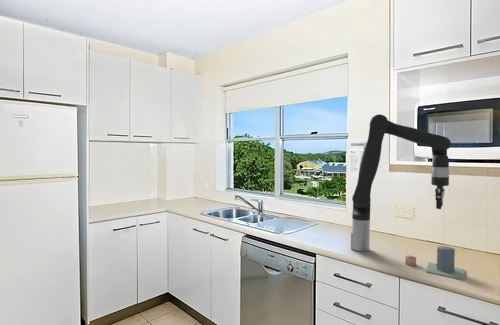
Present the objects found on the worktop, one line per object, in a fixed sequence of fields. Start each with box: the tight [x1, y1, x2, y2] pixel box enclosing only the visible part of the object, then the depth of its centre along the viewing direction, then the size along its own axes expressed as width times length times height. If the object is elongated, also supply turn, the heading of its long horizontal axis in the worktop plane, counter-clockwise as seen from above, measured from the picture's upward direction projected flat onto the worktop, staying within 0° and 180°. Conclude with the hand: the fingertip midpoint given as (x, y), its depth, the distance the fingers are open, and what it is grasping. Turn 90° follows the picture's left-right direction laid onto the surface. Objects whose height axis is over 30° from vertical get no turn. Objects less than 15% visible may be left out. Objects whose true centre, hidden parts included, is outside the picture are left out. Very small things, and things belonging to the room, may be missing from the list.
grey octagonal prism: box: [436, 245, 456, 273], centre depth 132 cm, size 6×6×10 cm
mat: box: [425, 262, 466, 281], centre depth 132 cm, size 14×13×1 cm
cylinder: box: [404, 255, 417, 267], centre depth 141 cm, size 5×5×4 cm
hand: (439, 207), depth 149 cm, fingers open, 8 cm apart
